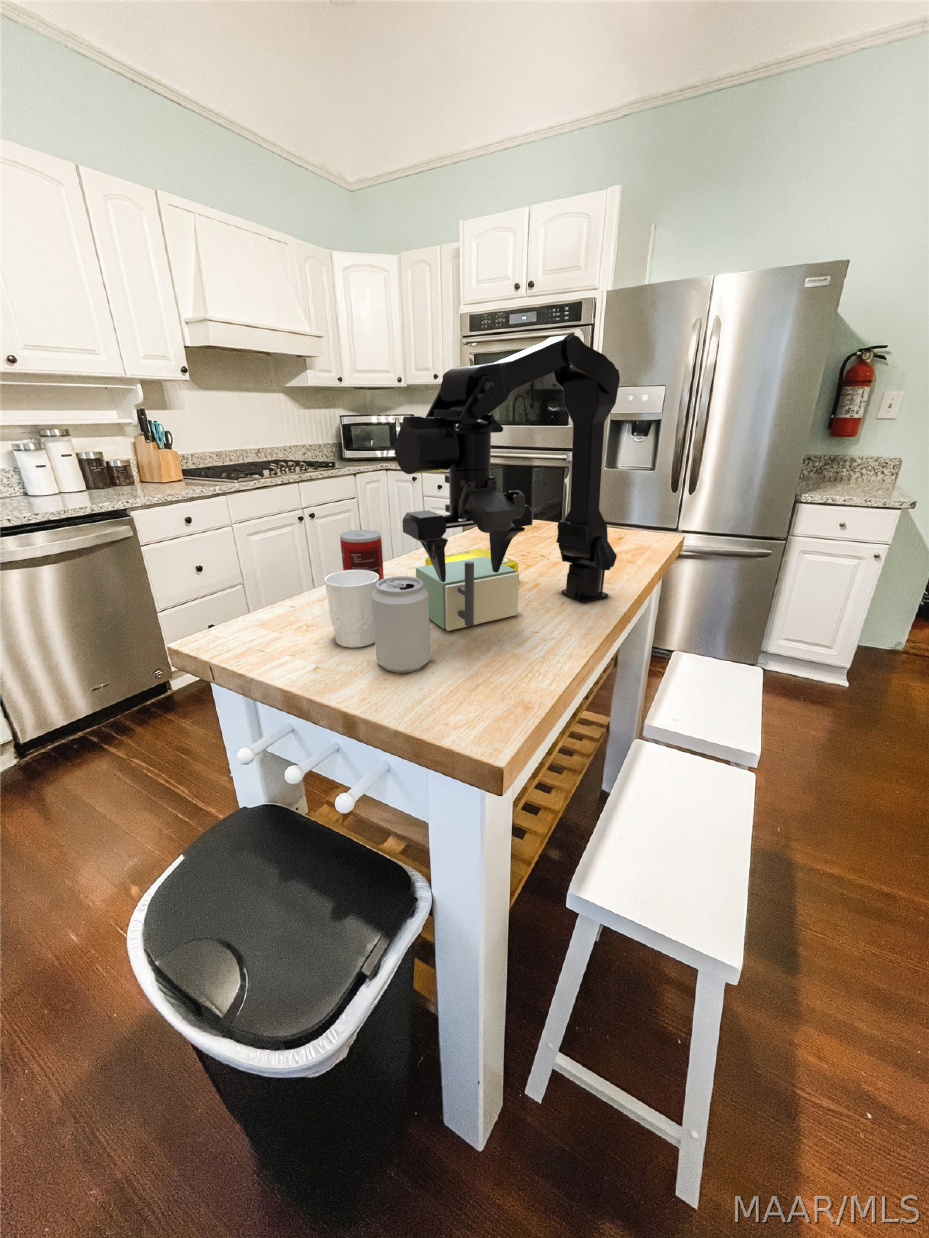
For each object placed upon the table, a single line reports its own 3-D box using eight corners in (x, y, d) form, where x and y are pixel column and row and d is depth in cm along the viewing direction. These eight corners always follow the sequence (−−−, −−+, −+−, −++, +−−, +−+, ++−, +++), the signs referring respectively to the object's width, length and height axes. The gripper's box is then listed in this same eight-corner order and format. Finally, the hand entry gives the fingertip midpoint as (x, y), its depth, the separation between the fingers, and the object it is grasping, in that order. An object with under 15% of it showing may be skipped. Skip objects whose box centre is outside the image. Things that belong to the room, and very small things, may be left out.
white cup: (392, 632, 80) (388, 572, 76) (367, 653, 73) (362, 588, 69) (349, 625, 82) (343, 567, 78) (321, 645, 75) (313, 582, 72)
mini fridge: (484, 596, 95) (484, 556, 92) (514, 614, 87) (516, 570, 84) (417, 610, 89) (415, 567, 85) (443, 630, 81) (442, 583, 77)
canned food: (365, 580, 104) (360, 527, 100) (393, 587, 100) (389, 533, 96) (336, 590, 99) (330, 535, 94) (364, 598, 94) (360, 541, 90)
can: (422, 678, 66) (418, 593, 62) (368, 672, 68) (361, 589, 63) (436, 653, 73) (434, 575, 68) (387, 648, 74) (382, 571, 70)
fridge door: (514, 613, 87) (517, 547, 82) (529, 621, 83) (533, 553, 79) (445, 629, 80) (444, 558, 76) (458, 639, 77) (458, 566, 72)
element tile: (479, 565, 114) (479, 545, 112) (521, 583, 102) (522, 560, 100) (422, 577, 106) (421, 555, 104) (460, 597, 95) (460, 573, 93)
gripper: (435, 479, 58) (438, 605, 64) (560, 470, 67) (553, 581, 73) (398, 470, 67) (404, 581, 73) (512, 463, 75) (509, 562, 82)
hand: (469, 576), depth 75 cm, fingers open, 9 cm apart
